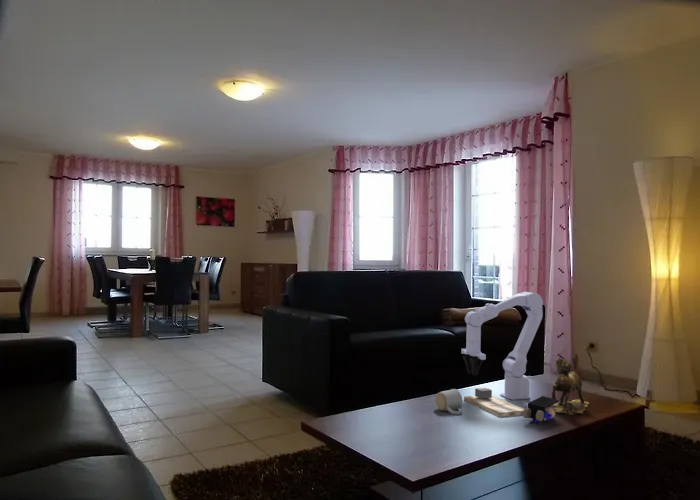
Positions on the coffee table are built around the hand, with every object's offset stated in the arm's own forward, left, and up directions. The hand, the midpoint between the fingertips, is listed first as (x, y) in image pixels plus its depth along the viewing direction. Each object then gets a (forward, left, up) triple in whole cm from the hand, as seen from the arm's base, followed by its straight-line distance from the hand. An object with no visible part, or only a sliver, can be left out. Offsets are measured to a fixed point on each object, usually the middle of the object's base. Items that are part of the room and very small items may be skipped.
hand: (472, 374), depth 211 cm
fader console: (0, +15, -9) cm, 17 cm away
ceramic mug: (+19, +14, -10) cm, 26 cm away
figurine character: (-5, +35, -10) cm, 36 cm away
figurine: (-29, +24, -10) cm, 39 cm away
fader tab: (0, +8, -7) cm, 11 cm away
